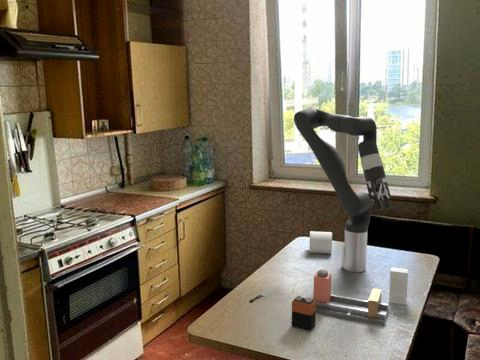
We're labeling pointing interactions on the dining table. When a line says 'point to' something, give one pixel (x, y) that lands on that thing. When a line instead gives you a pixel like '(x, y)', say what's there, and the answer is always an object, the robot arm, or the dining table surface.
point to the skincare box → (398, 285)
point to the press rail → (356, 308)
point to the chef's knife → (264, 294)
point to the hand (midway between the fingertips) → (383, 209)
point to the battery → (303, 313)
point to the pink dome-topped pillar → (322, 286)
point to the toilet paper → (321, 242)
